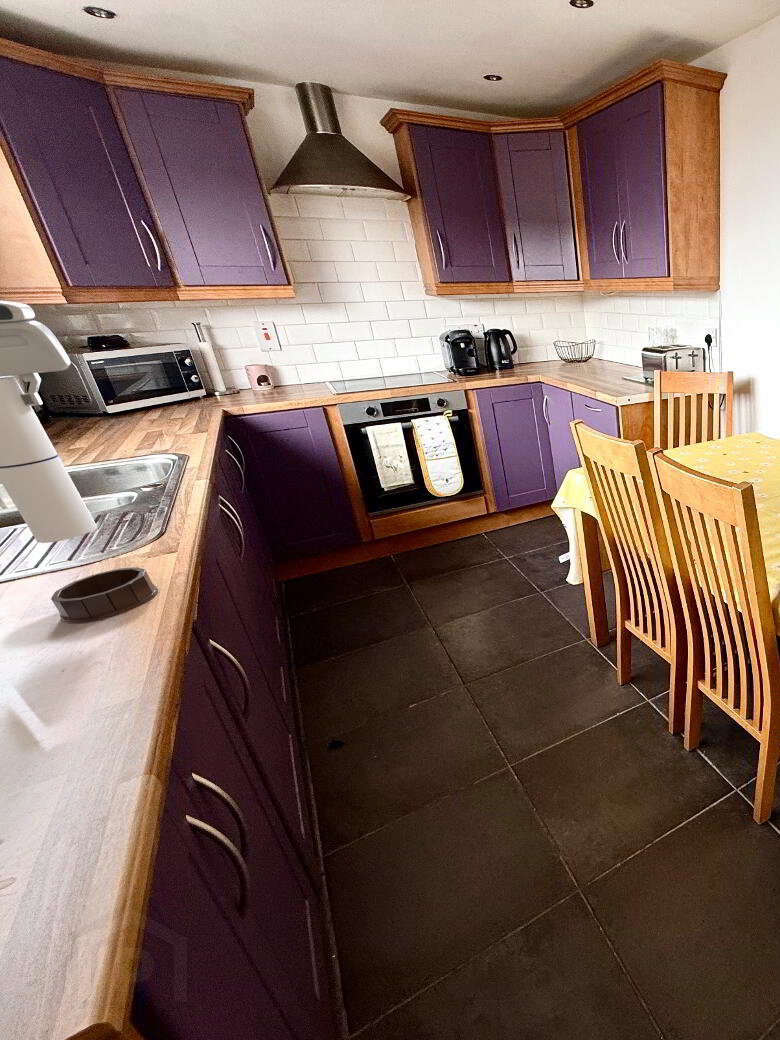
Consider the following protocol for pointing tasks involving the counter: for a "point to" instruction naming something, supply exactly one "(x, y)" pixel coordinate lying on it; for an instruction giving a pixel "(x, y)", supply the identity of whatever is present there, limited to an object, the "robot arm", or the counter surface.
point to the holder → (104, 595)
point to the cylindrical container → (37, 472)
